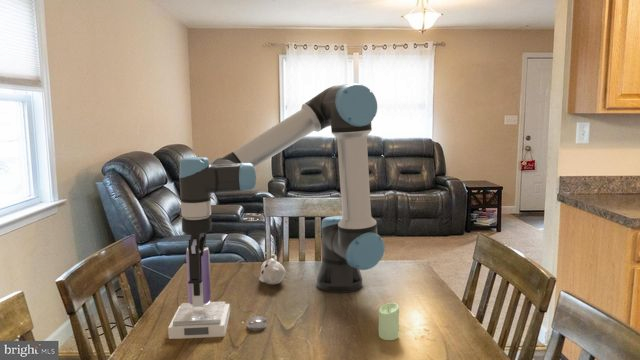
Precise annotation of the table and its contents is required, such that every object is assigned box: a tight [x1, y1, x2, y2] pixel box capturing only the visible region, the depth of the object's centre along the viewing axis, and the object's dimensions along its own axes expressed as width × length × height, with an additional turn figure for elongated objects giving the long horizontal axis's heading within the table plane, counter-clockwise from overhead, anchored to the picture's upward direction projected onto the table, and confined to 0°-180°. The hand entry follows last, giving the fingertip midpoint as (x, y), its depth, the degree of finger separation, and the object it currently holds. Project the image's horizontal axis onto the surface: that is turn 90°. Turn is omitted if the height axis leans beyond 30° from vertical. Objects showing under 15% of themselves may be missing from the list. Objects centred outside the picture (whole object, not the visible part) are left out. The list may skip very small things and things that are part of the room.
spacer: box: [246, 315, 267, 332], centre depth 129 cm, size 5×5×2 cm
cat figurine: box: [259, 253, 287, 285], centre depth 162 cm, size 10×8×15 cm
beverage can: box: [185, 245, 212, 306], centre depth 128 cm, size 6×6×15 cm
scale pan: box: [173, 301, 227, 325], centre depth 129 cm, size 12×12×1 cm
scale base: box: [167, 303, 231, 340], centre depth 129 cm, size 14×14×3 cm
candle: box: [378, 302, 400, 341], centre depth 122 cm, size 5×5×8 cm
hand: (200, 301), depth 129 cm, fingers closed on beverage can, 6 cm apart
